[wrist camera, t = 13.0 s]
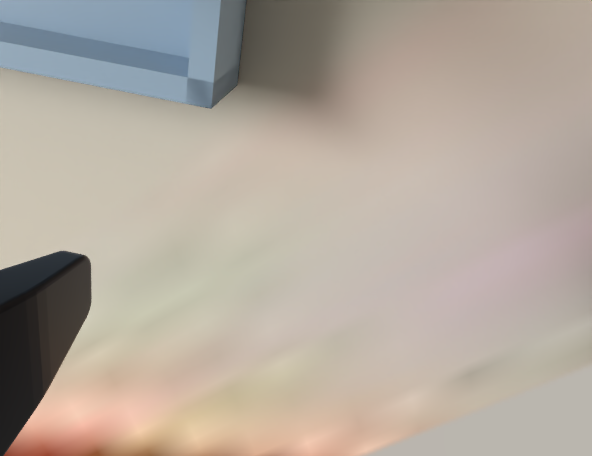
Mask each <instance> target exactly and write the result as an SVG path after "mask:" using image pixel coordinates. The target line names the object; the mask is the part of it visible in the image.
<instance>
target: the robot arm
mask: <svg viewBox="0 0 592 456" xmlns="http://www.w3.org/2000/svg"><path fill="white" fill-rule="evenodd" d="M90 306H91V263H90V260H89V258H88V257H87V256H85V255H82V254H77V253H72V252H68V251H59V252H56V253H53V254H49V255H46V256H43V257H40V258H37V259H34V260H31V261H27V262H24V263H21V264H18V265H15V266H12V267H8V268H5V269H2V270H0V456H4V454H5V453H6V451H7V450H8V448H9V447H10V446H11V444H12V443H13V441H14V440H15V438H16V437H17V435H18V434H19V432H20V431H21V430H22V428H23V427H24V425H25V424H26V422H27V421H28V419H29V418H30V416H31V415H32V414H33V412H34V411H35V409H36V408H37V406H38V405H39V403H40V401H41V400H42V398H43V397H44V395H45V393H46V392H47V390H48V388H49V386H50V385H51V383H52V381H53V379H54V377H55V375H56V373H57V372H58V370H59V368H60V366H61V364H62V362H63V360H64V358H65V357H66V355H67V353H68V351H69V349H70V347H71V345H72V343H73V342H74V340H75V338H76V336H77V334H78V332H79V330H80V328H81V327H82V325H83V323H84V321H85V319H86V317H87V315H88V313H89V310H90Z"/></svg>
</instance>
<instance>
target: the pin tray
mask: <svg viewBox="0 0 592 456" xmlns="http://www.w3.org/2000/svg"><path fill="white" fill-rule="evenodd" d="M246 1H247V0H0V67H2V68H7V69H12V70H17V71H22V72H27V73H32V74H37V75H43V76H48V77H53V78H58V79H63V80H68V81H73V82H78V83H83V84H88V85H93V86H99V87H104V88H109V89H114V90H119V91H124V92H129V93H134V94H139V95H144V96H149V97H155V98H160V99H165V100H170V101H175V102H180V103H185V104H190V105H195V106H200V107H206V108H212V107H213V106H215V105H216V104H217V103H218V102H219V101H220V100H221V99H222V98H223V97H225V96H226V95H227V94H228V93H229V92H230V91H231V90H232V89H233V88H234V87H236V86H237V83H238V74H239V65H240V56H241V46H242V37H243V28H244V19H245V10H246Z"/></svg>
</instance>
